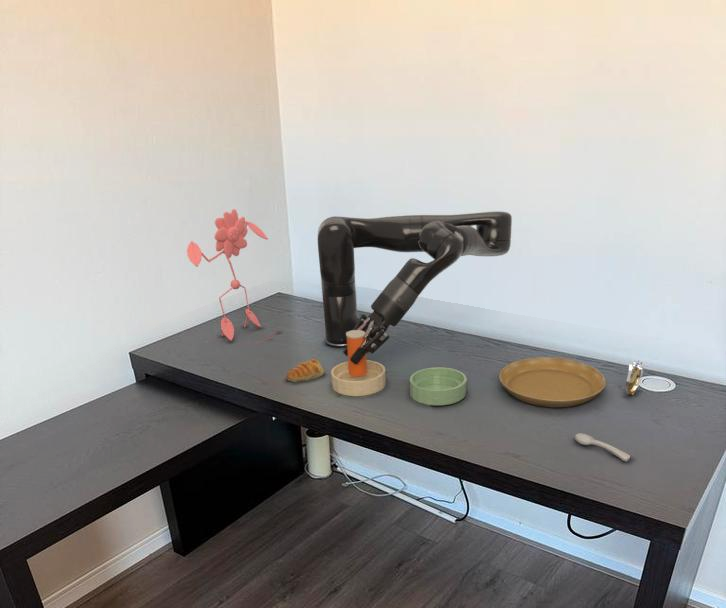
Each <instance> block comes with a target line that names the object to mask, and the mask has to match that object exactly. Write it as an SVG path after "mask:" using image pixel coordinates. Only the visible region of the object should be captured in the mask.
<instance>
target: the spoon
mask: <svg viewBox="0 0 726 608" xmlns="http://www.w3.org/2000/svg"><path fill="white" fill-rule="evenodd" d="M574 439H575V441H576V442H577V443H578V444H580V445H582V446H590V445H594V446H598V447H601V448H603V449H605V450H606V451H608V452H610V453H612V454H613V455H615V456H616V457H618V458H619V459H620V460H621V461H623V462H625V463H627V462H628V461H630V459H631V455H630V454H628V453H627V452H625V451H623V450H620V449H618V448H616V447H614V446H613V445H612V444H611V445H610V444H608V443H606V442H603V441H601V440H597V439H595V438H593V437H592V436H590V435H589V434H586V433H580V432H579V433H577V434H575V435H574Z"/></svg>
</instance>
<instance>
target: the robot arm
mask: <svg viewBox="0 0 726 608" xmlns="http://www.w3.org/2000/svg"><path fill="white" fill-rule="evenodd" d="M512 217H513V216H512V214H511V213H510V212H507V211H500V210H499V211H497V210H494V211H484V212H483V211H482V212H472V213H471V212H470V213H460V214H412V215H411V214H408V215H407V214H406V215H395V216H382V217H374V218H362V217H351V216H349V217H348V216H337V215H336V216H335V215H334V216H329V217H327V218H326V219H324V220H323V221H321V222H320V224H319V226H318V229H317V251H318V263H319V273H320V282H321V294H322V295H321V296H322V306H323V319H324V330H325V331H324V332H325V344H326V345H328V346H329V347H333V348H334V347H335V348H344V349H343V351H342V353H343V355H345V356H346V357H348V351H347V336H346V333H347V332H349V331H352V330H362V331H364V332H365V334H364V337H363V338H364V340H363V341H362V343H361V345H360V347H359V348H358V349H357V350H356V351H355V352H354V354H353V355H352V356H351V357H350V360H351V361H352V362H353V363H354V364H358V363H359V362H360V360H361V359H362V358H363V357H364V355H365V354H366V355H367V354H369V353H370V354H372V355H373V354H374V353H375V352H376V351H377V350H378V349H380V347H381V346H383V345H384V344H385V343H386V342H387V341H388V340H389V339H390V335H389V334H388V333H387V331H388V328H389V327H390V326H392V327H395V328H396V326H397V325H398V324H399V323H400V322H401V320H402V319H403V317H404V316H405V315H406V314H407V313H408V311H409V310H410V309H411V308H412V306H413V305H414V304H415V302H416V301H417V299H418V298H419V296H420V295H421V294H422V292H423V291H424V290H425V288H427V286H428V285H429V284H430V283H431V281H433V280H434V279H435V278H436V277H438V275H440V274H441V273H442V272H444V271H445V270H447V269H448V268H449V267H451V266H452V265H454V264H455V263H456V262H457V261H458V260H459V259H460V258H461V257H466V256H474V257H500V256H504V255H506V254H507V253H508V252H509V251H510V249H511V245H512V244H511V243H512V225H513V218H512ZM474 226H476V227H474ZM359 248H375V249H379V250H386V251H391V252H397V253H426V254H427V255H428V256H429V257H430V258H432V259H433V260H431V261H429V262H424V261H421V260H419V259H417V258H415V257H414V258H413V257H411V258H409V259H408V260H407V261H406V263H405V264H404V265H403V266H402V268H401V269H400V270H399V271H398V273H397V274H396V275H395V276H394V278H392V279H391V280H390V281H389V282H388V283H387V285H386V286H385V287H384V288H383V290H382V291H381V292H380V293H379V295H378V296H377V297H376V299H375V300H374V301H373V302H372V304H371V305H370V309H371V310H373V311H372V313H370V314H369V315H368V316H367V315H366V314H364V313H362V314H361V315H360V317H358V304H357V287H356V263H355V249H359Z"/></svg>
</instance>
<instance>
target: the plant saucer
mask: <svg viewBox="0 0 726 608" xmlns="http://www.w3.org/2000/svg"><path fill="white" fill-rule="evenodd" d="M498 377H499V381H500V383H501V385H502V386H503V388H504V389H505V390H506V391H507V392H508V393H509V394H510V395H511V396H512V397H514V398H516V399H518V400H519V401H522V402H524V403H526V404H530V405H534V406H536V407H537V406H538V407H545V408H569V407H575V406H580V405H582V404H585V403H587V402H589V401H592V400H593V399H595V398H596V397H598V395H599V394H601V392H602V391H603V390H604V388H605V387H606V384H607V382H606V381H607V380H606V377H605V376H604V375H603V374H602V372H601V371H600V370H598V369H597V368H595V367H593V366H592V365H590V364H587V363H584V362H581V361H577V360H574V359H569V358H563V357H554V356H552V357H551V356H541V357H540V356H539V357H528V358H523V359H519V360H515V361H512V362H511V363H508V364H507V365H504V367H503V368H502V369H501V370H500V371H499V376H498Z"/></svg>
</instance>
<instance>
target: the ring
mask: <svg viewBox="0 0 726 608" xmlns="http://www.w3.org/2000/svg"><path fill="white" fill-rule="evenodd" d="M628 365H629V366H628V373H627V378H626V382H625V394H627V395H629V396H634V395H635V393H636V391H637V390H638V388H639V386H640V383H641V380H642V377H643V371H644V367H645V364H643V361H640V360H637V361H636V360H634V361H633V362H629V364H628ZM633 371H635V372H634V373H633ZM632 374H633V375H632ZM633 383H634V384H633ZM632 386H633V387H632Z"/></svg>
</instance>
